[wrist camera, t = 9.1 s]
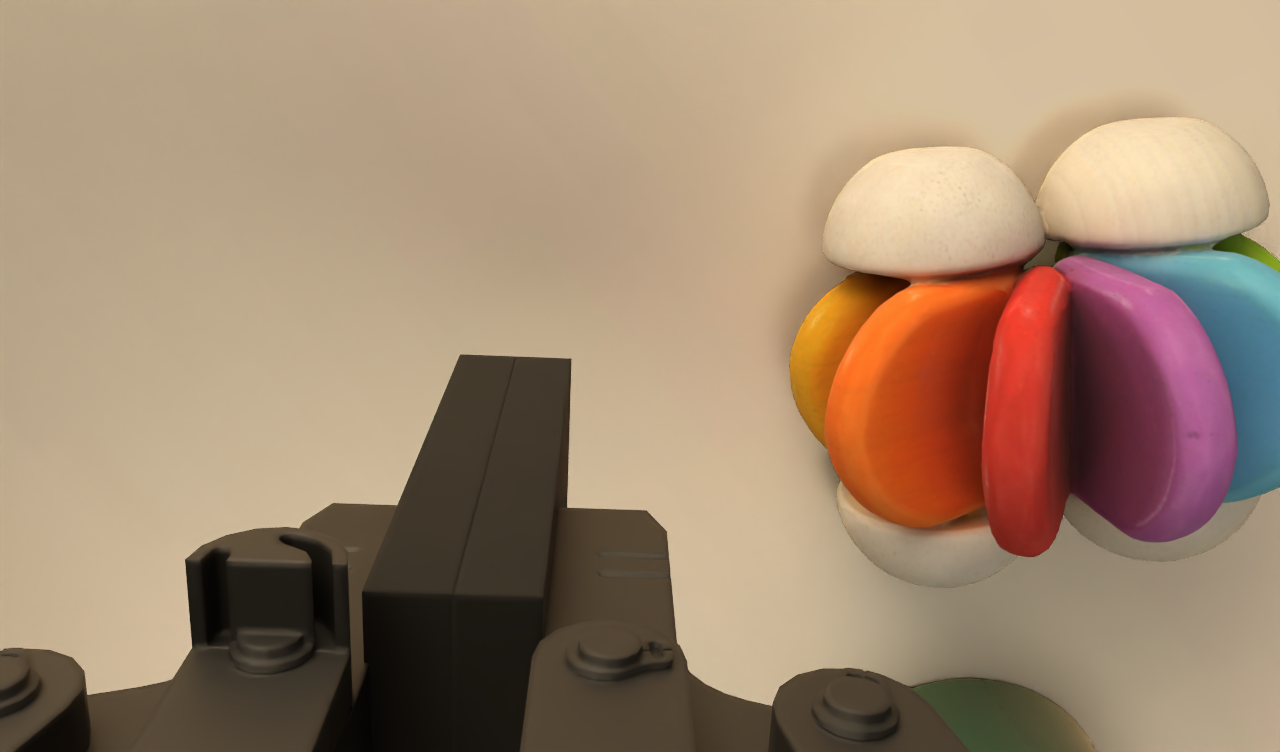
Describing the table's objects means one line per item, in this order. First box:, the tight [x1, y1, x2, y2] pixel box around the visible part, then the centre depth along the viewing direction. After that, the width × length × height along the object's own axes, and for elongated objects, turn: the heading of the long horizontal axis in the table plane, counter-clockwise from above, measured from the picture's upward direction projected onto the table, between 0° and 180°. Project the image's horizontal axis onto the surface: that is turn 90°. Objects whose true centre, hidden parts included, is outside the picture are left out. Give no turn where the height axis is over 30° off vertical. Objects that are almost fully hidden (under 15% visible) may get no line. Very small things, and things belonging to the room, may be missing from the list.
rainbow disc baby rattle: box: [789, 117, 1280, 588], centre depth 22 cm, size 8×10×7 cm
